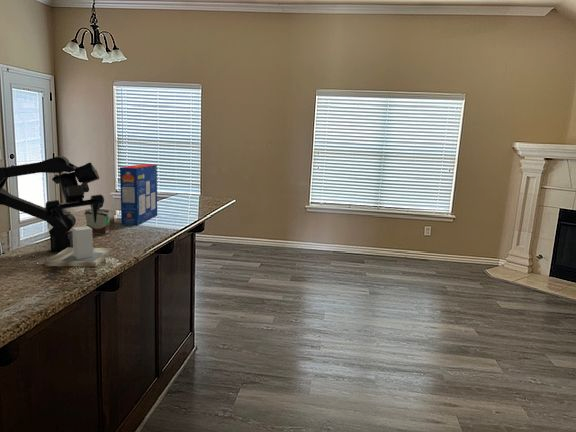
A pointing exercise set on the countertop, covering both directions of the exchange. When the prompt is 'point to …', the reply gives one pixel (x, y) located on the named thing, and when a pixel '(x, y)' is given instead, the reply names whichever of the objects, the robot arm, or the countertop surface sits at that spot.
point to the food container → (98, 221)
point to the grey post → (82, 242)
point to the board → (69, 259)
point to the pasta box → (138, 193)
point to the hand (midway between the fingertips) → (81, 224)
